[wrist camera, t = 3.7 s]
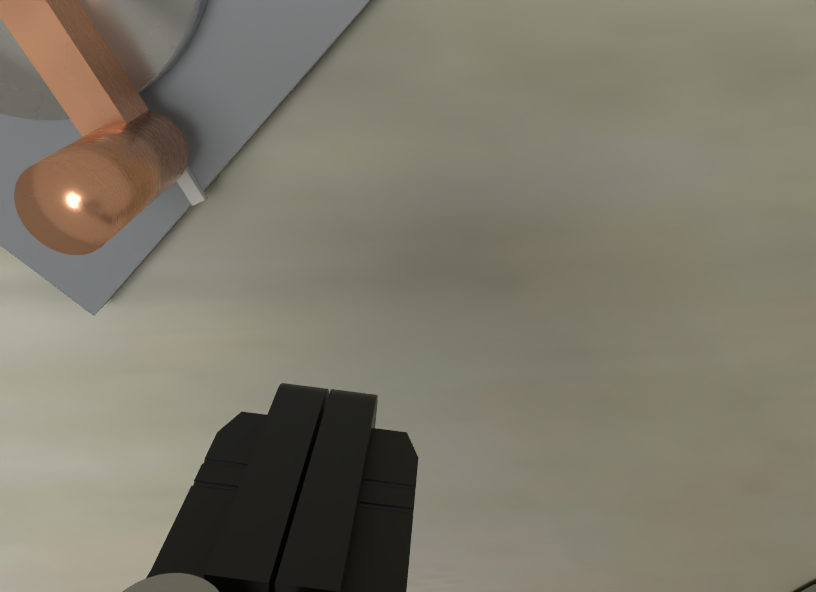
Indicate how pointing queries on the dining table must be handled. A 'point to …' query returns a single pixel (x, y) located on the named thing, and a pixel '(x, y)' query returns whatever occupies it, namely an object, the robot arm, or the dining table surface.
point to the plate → (180, 128)
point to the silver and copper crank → (93, 110)
